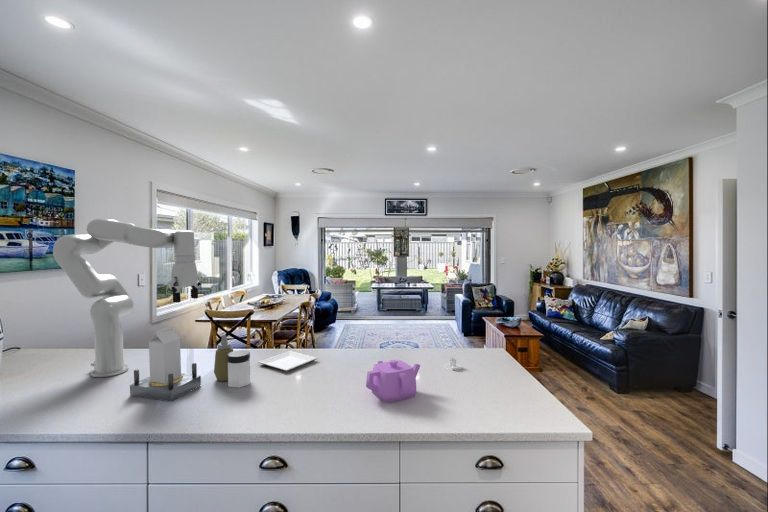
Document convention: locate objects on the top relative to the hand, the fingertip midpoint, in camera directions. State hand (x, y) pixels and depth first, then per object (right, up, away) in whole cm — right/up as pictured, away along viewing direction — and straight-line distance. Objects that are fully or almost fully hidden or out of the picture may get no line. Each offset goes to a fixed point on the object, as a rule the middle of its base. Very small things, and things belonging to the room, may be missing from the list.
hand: (185, 300), depth 155 cm
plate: (+40, -30, +11) cm, 52 cm away
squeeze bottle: (+20, -31, -7) cm, 37 cm away
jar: (+27, -31, -12) cm, 43 cm away
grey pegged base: (+3, -32, -19) cm, 37 cm away
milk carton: (+3, -28, -19) cm, 33 cm away
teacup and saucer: (+112, -31, +6) cm, 116 cm away
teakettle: (+87, -32, -20) cm, 95 cm away
